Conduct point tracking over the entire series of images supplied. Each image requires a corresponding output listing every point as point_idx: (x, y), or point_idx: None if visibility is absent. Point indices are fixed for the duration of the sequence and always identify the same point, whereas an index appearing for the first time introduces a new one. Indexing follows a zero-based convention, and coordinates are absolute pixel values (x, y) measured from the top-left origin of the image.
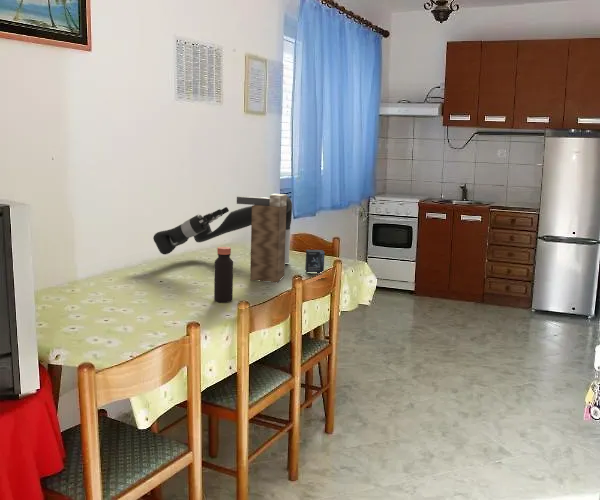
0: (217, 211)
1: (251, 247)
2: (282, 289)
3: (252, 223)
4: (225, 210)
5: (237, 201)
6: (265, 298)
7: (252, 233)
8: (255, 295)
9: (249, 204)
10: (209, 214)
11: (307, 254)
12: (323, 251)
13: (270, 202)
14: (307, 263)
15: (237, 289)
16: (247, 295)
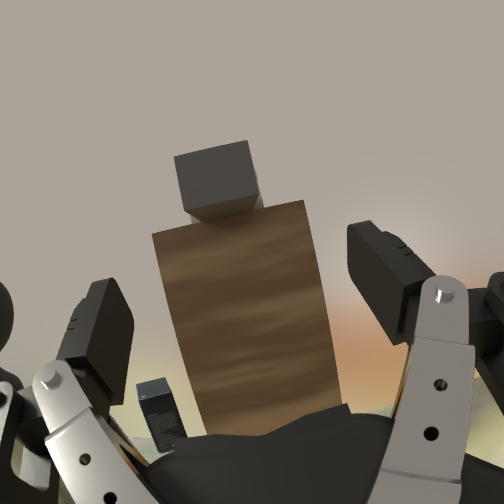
0: (400, 243)
1: (341, 403)
2: (385, 409)
3: (321, 292)
4: (119, 323)
5: (255, 176)
6: (474, 378)
7: (330, 341)
8: (478, 396)
9: (253, 206)
10: (501, 279)
11: (169, 400)
12: (156, 379)
13: (261, 199)
14: (180, 420)
15: (480, 444)
16: (494, 400)
